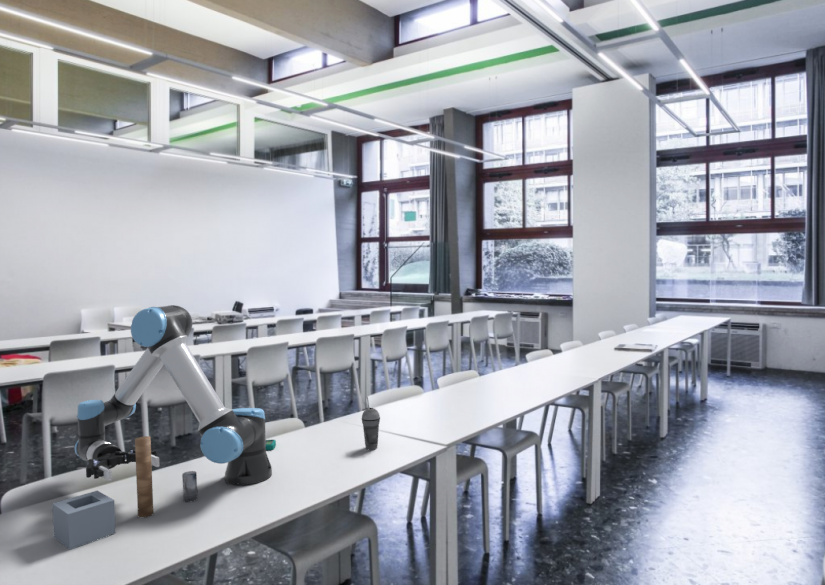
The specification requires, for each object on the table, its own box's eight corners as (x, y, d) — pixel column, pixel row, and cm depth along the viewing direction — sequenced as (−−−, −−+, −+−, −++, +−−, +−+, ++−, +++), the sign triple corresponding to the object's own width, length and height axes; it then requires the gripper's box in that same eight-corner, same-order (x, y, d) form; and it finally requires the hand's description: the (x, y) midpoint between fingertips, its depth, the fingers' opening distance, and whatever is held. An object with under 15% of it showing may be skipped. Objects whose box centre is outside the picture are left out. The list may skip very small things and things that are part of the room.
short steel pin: (193, 495, 174) (192, 470, 173) (199, 498, 171) (198, 472, 171) (180, 499, 170) (179, 473, 170) (187, 503, 168) (186, 476, 168)
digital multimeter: (238, 447, 223) (238, 440, 223) (276, 445, 225) (276, 438, 225) (234, 453, 216) (234, 445, 216) (273, 451, 217) (273, 443, 217)
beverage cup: (378, 451, 213) (377, 398, 213) (360, 450, 214) (358, 398, 214) (382, 445, 220) (381, 394, 220) (364, 444, 222) (363, 394, 221)
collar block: (98, 522, 156) (97, 490, 156) (115, 533, 149) (114, 499, 148) (53, 537, 147) (52, 503, 147) (69, 549, 140) (68, 514, 140)
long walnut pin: (149, 510, 163) (146, 435, 162) (156, 513, 161) (153, 437, 160) (135, 515, 160) (132, 438, 159) (141, 518, 158) (138, 441, 157)
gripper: (145, 456, 186) (176, 469, 172) (60, 478, 167) (88, 495, 153) (144, 433, 185) (176, 445, 172) (59, 453, 166) (87, 468, 153)
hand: (134, 468), depth 162 cm, fingers open, 13 cm apart
